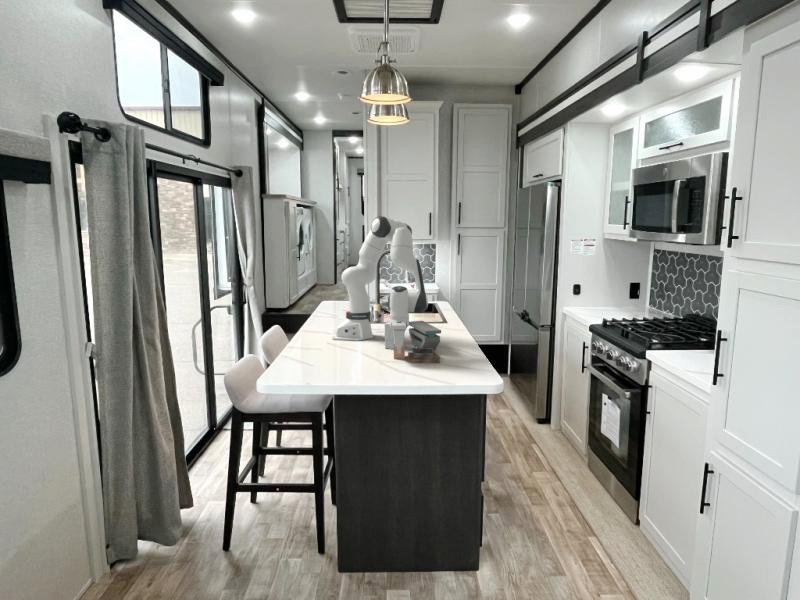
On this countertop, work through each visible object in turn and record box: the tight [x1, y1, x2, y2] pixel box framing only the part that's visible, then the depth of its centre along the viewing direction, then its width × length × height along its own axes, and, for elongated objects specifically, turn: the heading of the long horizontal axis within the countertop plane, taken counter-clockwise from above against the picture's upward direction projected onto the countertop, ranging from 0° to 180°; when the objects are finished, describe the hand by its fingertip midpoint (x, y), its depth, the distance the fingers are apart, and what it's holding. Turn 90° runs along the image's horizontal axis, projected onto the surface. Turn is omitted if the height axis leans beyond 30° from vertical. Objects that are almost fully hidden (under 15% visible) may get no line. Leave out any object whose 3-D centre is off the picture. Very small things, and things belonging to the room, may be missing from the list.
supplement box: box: [384, 320, 394, 350], centre depth 246 cm, size 7×7×13 cm
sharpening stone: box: [408, 320, 442, 350], centre depth 247 cm, size 25×8×11 cm, turn 18°
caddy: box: [407, 347, 441, 364], centre depth 226 cm, size 14×14×4 cm
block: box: [393, 340, 406, 360], centre depth 228 cm, size 5×5×7 cm
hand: (399, 351), depth 228 cm, fingers closed on block, 5 cm apart
